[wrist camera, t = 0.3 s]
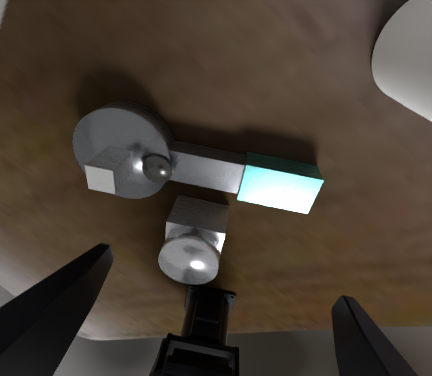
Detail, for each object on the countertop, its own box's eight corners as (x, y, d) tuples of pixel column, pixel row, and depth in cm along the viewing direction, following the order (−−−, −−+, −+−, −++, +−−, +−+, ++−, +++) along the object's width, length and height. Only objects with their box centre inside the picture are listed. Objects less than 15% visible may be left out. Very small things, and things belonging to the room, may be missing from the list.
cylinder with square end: (221, 241, 27) (213, 289, 22) (175, 231, 27) (157, 277, 22) (229, 205, 24) (222, 252, 19) (178, 194, 24) (158, 238, 19)
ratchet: (328, 140, 19) (351, 178, 15) (294, 215, 24) (303, 262, 19) (83, 91, 20) (29, 113, 15) (96, 174, 24) (58, 211, 20)
